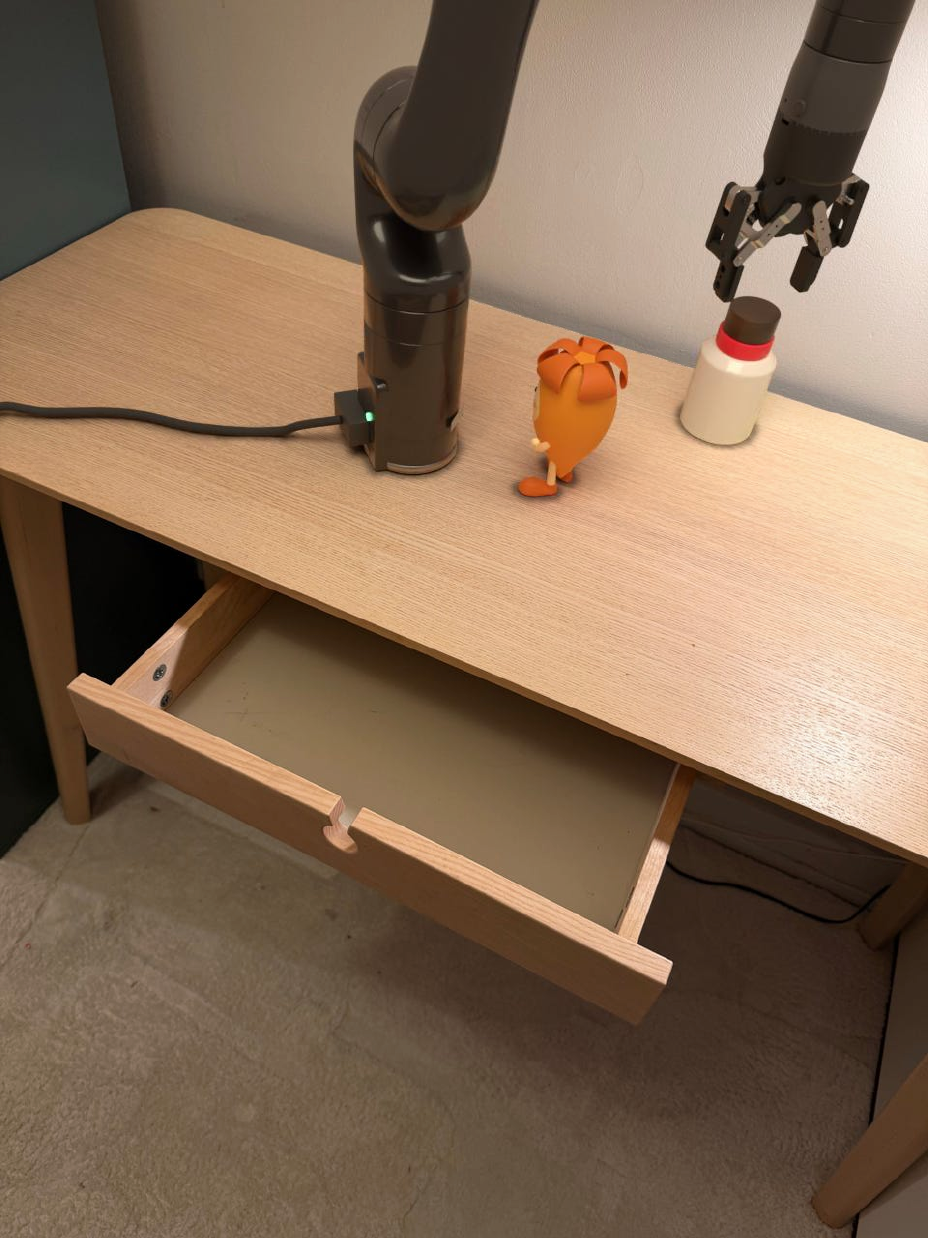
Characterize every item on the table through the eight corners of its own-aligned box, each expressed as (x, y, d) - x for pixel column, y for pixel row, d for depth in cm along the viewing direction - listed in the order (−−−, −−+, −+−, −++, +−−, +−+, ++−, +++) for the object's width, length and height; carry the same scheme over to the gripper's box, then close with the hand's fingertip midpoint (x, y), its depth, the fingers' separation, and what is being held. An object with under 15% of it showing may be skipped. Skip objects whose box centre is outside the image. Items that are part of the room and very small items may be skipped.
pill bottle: (761, 419, 99) (797, 328, 91) (736, 454, 95) (771, 362, 86) (696, 392, 101) (725, 302, 93) (668, 426, 97) (696, 334, 89)
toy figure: (558, 441, 94) (584, 308, 82) (624, 475, 91) (660, 342, 80) (491, 498, 87) (509, 362, 76) (560, 537, 84) (590, 402, 73)
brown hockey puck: (740, 348, 88) (747, 326, 86) (713, 320, 90) (720, 298, 89) (783, 341, 89) (791, 319, 87) (755, 314, 92) (763, 292, 90)
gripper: (867, 89, 79) (799, 266, 91) (728, 96, 75) (676, 281, 87) (923, 123, 74) (844, 305, 86) (779, 133, 70) (717, 322, 82)
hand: (760, 293), depth 87 cm, fingers open, 8 cm apart
